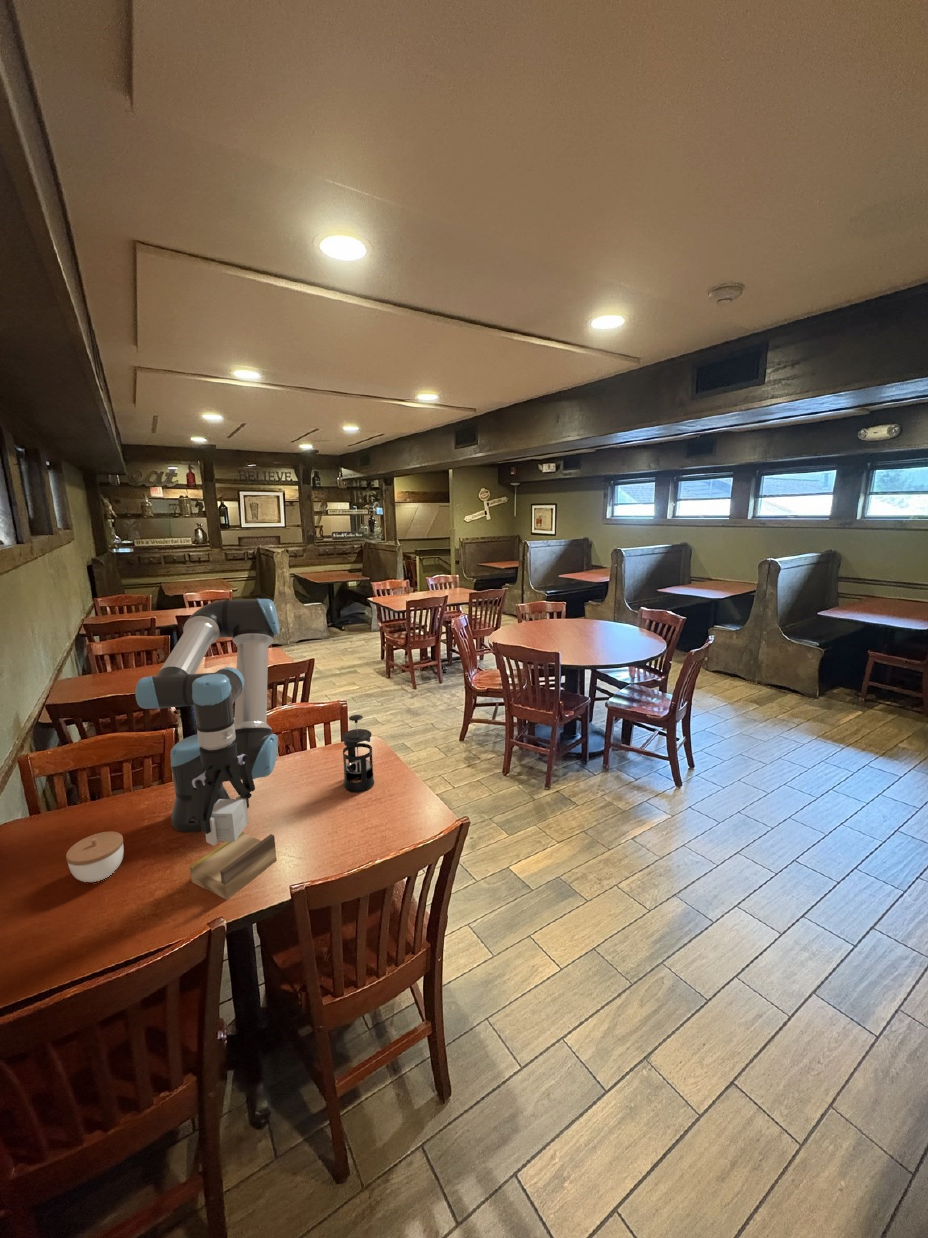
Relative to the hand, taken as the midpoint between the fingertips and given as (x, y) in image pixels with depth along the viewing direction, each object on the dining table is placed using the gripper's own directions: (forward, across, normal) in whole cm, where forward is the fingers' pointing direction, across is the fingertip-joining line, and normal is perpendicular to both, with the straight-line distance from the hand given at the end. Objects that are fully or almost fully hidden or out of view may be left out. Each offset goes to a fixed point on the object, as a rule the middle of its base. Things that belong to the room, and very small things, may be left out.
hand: (228, 832), depth 115 cm
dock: (+10, 0, -1) cm, 10 cm away
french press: (+10, +44, -3) cm, 45 cm away
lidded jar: (+11, -15, +27) cm, 33 cm away
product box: (+1, 0, 0) cm, 1 cm away
